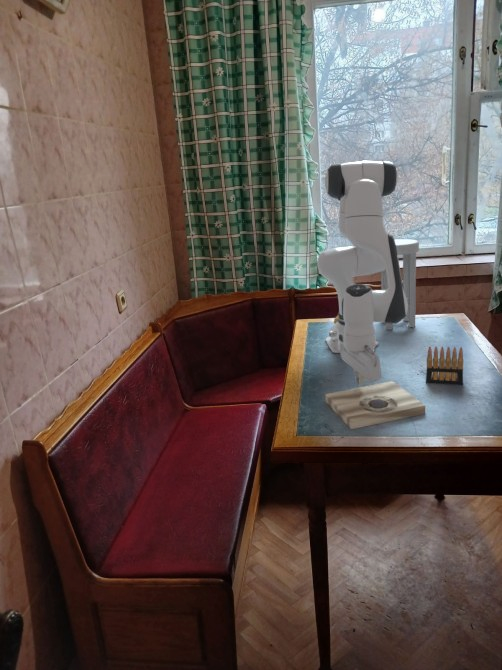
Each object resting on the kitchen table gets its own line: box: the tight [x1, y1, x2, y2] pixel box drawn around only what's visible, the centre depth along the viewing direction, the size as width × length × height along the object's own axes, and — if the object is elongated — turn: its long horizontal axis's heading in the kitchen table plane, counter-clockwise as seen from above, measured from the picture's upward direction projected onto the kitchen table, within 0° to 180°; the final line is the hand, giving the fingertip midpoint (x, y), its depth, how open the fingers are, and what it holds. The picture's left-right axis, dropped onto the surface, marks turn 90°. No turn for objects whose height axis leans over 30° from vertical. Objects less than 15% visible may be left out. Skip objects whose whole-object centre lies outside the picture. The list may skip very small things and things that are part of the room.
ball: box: [372, 399, 386, 408], centre depth 138 cm, size 4×4×4 cm
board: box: [324, 380, 426, 430], centre depth 142 cm, size 18×22×2 cm
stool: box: [380, 238, 420, 330], centre depth 205 cm, size 16×16×35 cm
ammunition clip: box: [425, 346, 464, 386], centre depth 151 cm, size 11×2×12 cm, turn 71°
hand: (360, 383), depth 149 cm, fingers closed
